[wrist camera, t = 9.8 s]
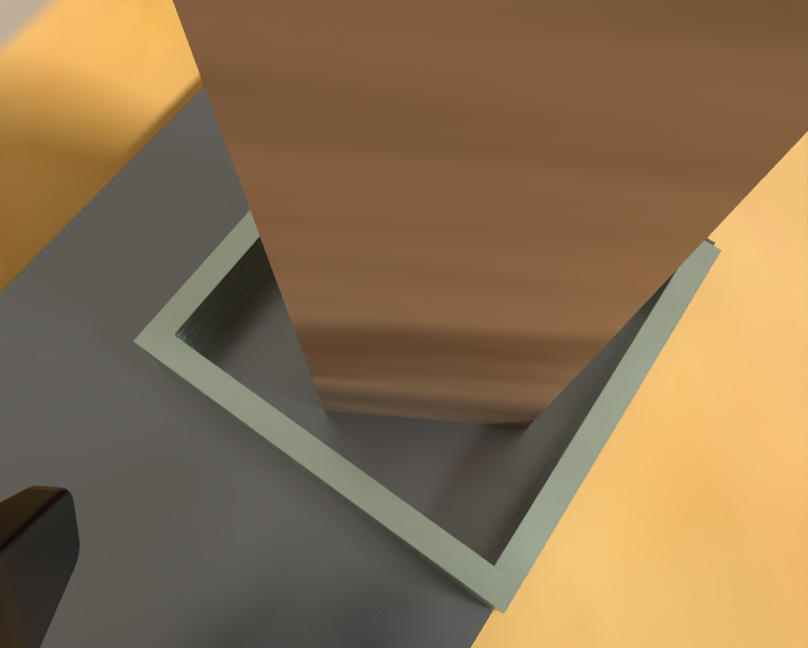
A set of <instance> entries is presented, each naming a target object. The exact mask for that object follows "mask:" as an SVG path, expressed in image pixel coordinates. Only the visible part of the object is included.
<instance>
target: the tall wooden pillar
mask: <svg viewBox="0 0 808 648" xmlns="http://www.w3.org/2000/svg"><path fill="white" fill-rule="evenodd" d="M173 2H174V5H175V8H176V10H177V13H178V16H179V19H180V21H181V24H182V27H183V29H184V32H185V35H186V38H187V40H188V43H189V46H190V48H191V51H192V54H193V56H194V59H195V62H196V65H197V67H198V70H199V73H200V75H201V78H202V81H203V84H204V86H205V89H206V92H207V94H208V97H209V100H210V103H211V105H212V108H213V111H214V113H215V116H216V119H217V121H218V124H219V127H220V130H221V132H222V135H223V138H224V140H225V143H226V146H227V149H228V151H229V154H230V157H231V159H232V162H233V165H234V167H235V170H236V173H237V176H238V178H239V181H240V184H241V186H242V189H243V192H244V195H245V197H246V200H247V203H248V205H249V208H250V211H251V214H252V216H253V219H254V222H255V224H256V227H257V230H258V232H259V235H260V238H261V241H262V243H263V246H264V249H265V251H266V254H267V257H268V260H269V262H270V265H271V268H272V270H273V273H274V276H275V278H276V281H277V284H278V287H279V289H280V292H281V295H282V297H283V300H284V303H285V306H286V308H287V311H288V314H289V316H290V319H291V322H292V325H293V327H294V330H295V333H296V335H297V338H298V341H299V343H300V346H301V349H302V352H303V354H304V357H305V360H306V362H307V365H308V368H309V371H310V373H311V376H312V379H313V381H314V384H315V387H316V390H317V392H318V395H319V398H320V400H321V403H322V406H323V408H324V410H326V411H337V412H348V413H359V414H370V415H382V416H393V417H404V418H415V419H426V420H437V421H449V422H460V423H471V424H482V425H493V426H504V427H515V428H528V427H529V426H530V425H531V424H532V423H533V422H534V420H535V419H536V418H537V417H538V416H539V415H540V414H541V413H542V412H543V411H544V410H545V409H546V408H547V407H548V406H549V405H550V404H551V402H552V401H553V400H554V399H555V398H556V397H557V396H558V395H559V394H560V393H561V392H562V391H563V390H564V389H565V388H566V387H567V385H568V384H569V383H570V382H571V381H572V380H573V379H574V378H575V377H576V376H577V375H578V374H579V373H580V372H581V371H582V370H583V369H584V367H585V366H586V365H587V364H588V363H589V362H590V361H591V360H592V359H593V358H594V357H595V356H596V355H597V354H598V353H599V352H600V351H601V349H602V348H603V347H604V346H605V345H606V344H607V343H608V342H609V341H610V340H611V339H612V338H613V337H614V336H615V335H616V334H617V332H618V331H619V330H620V329H621V328H622V327H623V326H624V325H625V324H626V323H627V322H628V321H629V320H630V319H631V318H632V317H633V316H634V314H635V313H636V312H637V311H638V310H639V309H640V308H641V307H642V306H643V305H644V304H645V303H646V302H647V301H648V300H649V299H650V298H651V296H652V295H653V294H654V293H655V292H656V291H657V290H658V289H659V288H660V287H661V286H662V285H663V284H664V283H665V282H666V281H667V279H668V278H669V277H670V276H671V275H672V274H673V273H674V272H675V271H676V270H677V269H678V268H679V267H680V266H681V265H682V264H683V263H684V261H685V260H686V259H687V258H688V257H689V256H690V255H691V254H692V253H693V252H694V251H695V250H696V249H697V248H698V247H699V246H700V244H701V243H702V242H703V241H704V240H705V239H706V238H707V237H708V236H709V235H710V234H711V233H712V232H713V231H714V230H715V229H716V228H717V226H718V225H719V224H720V223H721V222H722V221H723V220H724V219H725V218H726V217H727V216H728V215H729V214H730V213H731V212H732V211H733V210H734V208H735V207H736V206H737V205H738V204H739V203H740V202H741V201H742V200H743V199H744V198H745V197H746V196H747V195H748V194H749V193H750V191H751V190H752V189H753V188H754V187H755V186H756V185H757V184H758V183H759V182H760V181H761V180H762V179H763V178H764V177H765V176H766V175H767V173H768V172H769V171H770V170H771V169H772V168H773V167H774V166H775V165H776V164H777V163H778V162H779V161H780V160H781V159H782V158H783V157H784V155H785V154H786V153H787V152H788V151H789V150H790V149H791V148H792V147H793V146H794V145H795V144H796V143H797V142H798V141H799V140H800V138H801V137H802V136H803V135H804V134H805V133H806V132H807V131H808V0H173Z"/></svg>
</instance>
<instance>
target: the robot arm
mask: <svg viewBox="0 0 808 648" xmlns="http://www.w3.org/2000/svg"><path fill="white" fill-rule="evenodd" d="M79 551H80V540H79V533H78V526H77V520H76V513H75V506H74V500H73V496H72V494H71V492H70V491H69V490H67V489H65V488H60V487H50V486H31V487H28V488H26V489H24V490H22V491H20V492H18V493H16V494H15V495H13V496H11V497H9V498H7V499H5V500H3V501H1V502H0V648H40V647H41V644H42V642H43V640H44V637H45V635H46V633H47V631H48V628H49V626H50V624H51V621H52V619H53V617H54V614H55V612H56V610H57V607H58V605H59V603H60V601H61V598H62V596H63V594H64V591H65V589H66V587H67V584H68V582H69V580H70V577H71V575H72V573H73V571H74V568H75V566H76V563H77V560H78V557H79Z"/></svg>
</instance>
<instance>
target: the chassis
mask: <svg viewBox="0 0 808 648" xmlns="http://www.w3.org/2000/svg"><path fill="white" fill-rule="evenodd" d="M714 244H715V242H713V241H711V240H710V239H708V238H706V239H705V240H704V241H703V242H702V243H701V244H700V246H699V247H698V248H697V249H696V250H695V251H694V252H693V253H692V254H691V255H690V256H689V257H688V258H687V259H686V260H685V261H684V263H683V264H682V265H681V266H680V267H679V268H678V269H677V270H676V271H675V272H674V273H673V274H672V275H671V276H670V277H669V278H668V279H667V281H666V282H665V283H664V284H663V285H662V286H661V287H660V288H659V289H658V290H657V291H656V292H655V293H654V294H653V295H652V296H651V298H650V299H649V300H648V301H647V302H646V303H645V304H644V305H643V306H642V307H641V308H640V309H639V310H638V311H637V312H636V313H635V314H634V316H633V317H632V318H631V319H630V320H629V321H628V322H627V323H626V324H625V325H624V326H623V327H622V328H621V329H620V330H619V331H618V332H617V334H616V335H615V336H614V337H613V338H612V339H611V340H610V341H609V342H608V343H607V344H606V345H605V346H604V347H603V348H602V349H601V351H600V352H599V353H598V354H597V355H596V356H595V357H594V358H593V359H592V360H591V361H590V362H589V363H588V364H587V365H586V366H585V367H584V369H583V370H582V371H581V372H580V373H579V374H578V375H577V376H576V377H575V378H574V379H573V380H572V381H571V382H570V383H569V384H568V385H567V387H566V388H565V389H564V390H563V391H562V392H561V393H560V394H559V395H558V396H557V397H556V398H555V399H554V400H553V401H552V402H551V404H550V405H549V406H548V407H547V408H546V409H545V410H544V411H543V412H542V413H541V414H540V415H539V416H538V417H537V418H536V419H535V420H534V422H533V423H532V424H531V425H530V426H529V427H528V428H515V427H504V426H493V425H482V424H471V423H460V422H449V421H437V420H426V419H415V418H404V417H393V416H382V415H370V414H359V413H348V412H337V411H326V410H324V408H323V406H322V403H321V400H320V398H319V395H318V392H317V390H316V387H315V384H314V381H313V379H312V376H311V373H310V371H309V368H308V365H307V362H306V360H305V357H304V354H303V352H302V349H301V346H300V343H299V341H298V338H297V335H296V333H295V330H294V327H293V325H292V322H291V319H290V316H289V314H288V311H287V308H286V306H285V303H284V300H283V297H282V295H281V292H280V289H279V287H278V284H277V281H276V278H275V276H274V273H273V270H272V268H271V265H270V262H269V260H268V257H267V254H266V251H265V249H264V246H263V243H262V241H261V238H260V235H259V232H258V230H257V227H256V224H255V222H254V219H253V216H252V214H251V211H250V208H249V205H248V203H247V200H246V197H245V195H244V192H243V189H242V186H241V184H240V181H239V178H238V176H237V173H236V170H235V167H234V165H233V162H232V159H231V157H230V154H229V151H228V149H227V146H226V143H225V140H224V138H223V135H222V132H221V130H220V127H219V124H218V121H217V119H216V116H215V113H214V111H213V108H212V105H211V103H210V100H209V97H208V94H207V92H206V89H205V86H204V87H203V88H202V89H201V90H200V91H199V92H198V93H197V95H196V96H195V97H194V98H193V99H192V100H191V101H190V102H189V103H188V104H187V105H186V106H185V107H184V108H183V109H182V110H181V111H180V112H179V113H178V114H177V115H176V116H175V117H174V118H173V119H172V120H171V121H170V122H169V123H168V124H167V125H166V126H165V127H164V128H163V129H162V130H161V131H160V132H159V133H158V134H157V135H156V136H155V137H154V138H153V139H152V140H151V141H150V142H149V143H148V144H147V145H146V146H145V147H144V148H143V149H142V150H141V151H140V152H139V153H138V154H137V155H136V156H135V157H134V158H133V159H132V160H131V161H130V162H129V163H128V164H127V165H126V166H125V167H124V168H123V169H122V170H121V171H120V172H119V173H118V174H117V175H116V176H115V177H114V178H113V179H112V180H111V181H110V182H109V183H108V184H107V185H106V186H105V187H104V188H103V189H102V190H101V191H100V192H99V193H98V194H97V195H96V196H95V197H94V198H93V199H92V200H91V202H90V203H89V204H88V205H87V206H86V207H85V208H84V209H83V210H82V211H81V212H80V213H79V214H78V215H77V216H76V217H75V218H74V219H73V220H72V221H71V222H70V223H69V224H68V225H67V226H66V227H65V228H64V229H63V230H62V231H61V232H60V233H59V234H58V235H57V236H56V237H55V238H54V239H53V240H52V241H51V242H50V243H49V244H48V245H47V246H46V247H45V248H44V249H43V250H42V251H41V252H40V253H39V254H38V255H37V256H36V257H35V258H34V259H33V260H32V261H31V262H30V263H29V264H28V265H27V266H26V267H25V268H24V269H23V270H22V271H21V272H20V273H19V274H18V275H17V276H16V277H15V278H14V279H13V280H12V281H11V282H10V283H9V284H8V285H7V286H6V287H5V288H4V289H3V290H2V291H1V292H0V502H1V501H3V500H5V499H7V498H9V497H11V496H13V495H15V494H16V493H18V492H20V491H22V490H24V489H26V488H28V487H31V486H50V487H60V488H65V489H67V490H69V491H70V492H71V494H72V496H73V500H74V506H75V513H76V520H77V526H78V533H79V540H80V551H79V557H78V560H77V563H76V566H75V568H74V571H73V573H72V575H71V577H70V580H69V582H68V584H67V587H66V589H65V591H64V594H63V596H62V598H61V601H60V603H59V605H58V607H57V610H56V612H55V614H54V617H53V619H52V621H51V624H50V626H49V628H48V631H47V633H46V635H45V637H44V640H43V642H42V644H41V647H40V648H471V646H472V644H473V643H474V641H475V639H476V638H477V636H478V634H479V633H480V631H481V629H482V628H483V626H484V624H485V623H486V621H487V619H488V618H489V616H490V614H491V613H492V611H493V610H495V611H498V612H502V613H504V612H505V611H506V609H507V607H508V606H509V604H510V602H511V601H512V599H513V597H514V596H515V594H516V592H517V591H518V589H519V587H520V586H521V584H522V582H523V581H524V579H525V577H526V576H527V574H528V572H529V571H530V569H531V567H532V566H533V564H534V562H535V561H536V559H537V557H538V556H539V554H540V552H541V551H542V549H543V547H544V546H545V544H546V542H547V541H548V539H549V537H550V536H551V534H552V532H553V531H554V529H555V527H556V526H557V524H558V522H559V521H560V519H561V517H562V516H563V514H564V512H565V511H566V509H567V507H568V505H569V504H570V502H571V500H572V499H573V497H574V495H575V494H576V492H577V490H578V489H579V487H580V485H581V484H582V482H583V480H584V479H585V477H586V475H587V474H588V472H589V470H590V469H591V467H592V465H593V464H594V462H595V460H596V459H597V457H598V455H599V454H600V452H601V450H602V449H603V447H604V445H605V444H606V442H607V440H608V439H609V437H610V435H611V434H612V432H613V430H614V429H615V427H616V425H617V424H618V422H619V420H620V419H621V417H622V415H623V414H624V412H625V410H626V409H627V407H628V405H629V404H630V402H631V400H632V399H633V397H634V395H635V394H636V392H637V390H638V389H639V387H640V385H641V384H642V382H643V380H644V379H645V377H646V375H647V373H648V372H649V370H650V368H651V367H652V365H653V363H654V362H655V360H656V358H657V357H658V355H659V353H660V352H661V350H662V348H663V347H664V345H665V343H666V342H667V340H668V338H669V337H670V335H671V333H672V332H673V330H674V328H675V327H676V325H677V323H678V322H679V320H680V318H681V317H682V315H683V313H684V312H685V310H686V308H687V307H688V305H689V303H690V302H691V300H692V298H693V297H694V295H695V293H696V292H697V290H698V288H699V287H700V285H701V283H702V282H703V280H704V278H705V277H706V275H707V273H708V272H709V270H710V268H711V267H712V265H713V263H714V262H715V260H716V258H717V257H718V255H719V253H720V252H721V250H720V249H718V248H716V247H715V246H714Z"/></svg>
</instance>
